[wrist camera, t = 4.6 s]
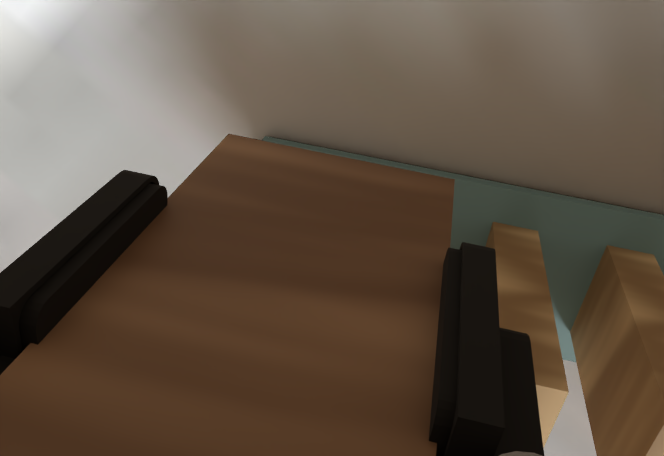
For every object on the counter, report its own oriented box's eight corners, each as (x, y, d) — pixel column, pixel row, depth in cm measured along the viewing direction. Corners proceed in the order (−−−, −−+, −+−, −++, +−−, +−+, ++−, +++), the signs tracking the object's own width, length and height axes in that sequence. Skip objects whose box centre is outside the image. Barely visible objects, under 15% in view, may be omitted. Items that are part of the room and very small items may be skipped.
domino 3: (653, 254, 27) (738, 430, 19) (612, 341, 30) (670, 531, 21) (607, 245, 27) (669, 414, 19) (570, 332, 30) (610, 516, 21)
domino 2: (537, 230, 28) (568, 391, 19) (507, 318, 30) (521, 494, 22) (492, 221, 28) (503, 377, 19) (466, 309, 30) (464, 480, 22)
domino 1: (228, 133, 14) (-179, 564, 5) (454, 179, 13) (416, 743, 5) (225, 212, 15) (-119, 678, 6) (434, 257, 14) (373, 835, 6)
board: (809, 243, 26) (814, 250, 26) (719, 387, 30) (722, 395, 30) (265, 135, 28) (262, 140, 28) (253, 284, 33) (250, 289, 32)
